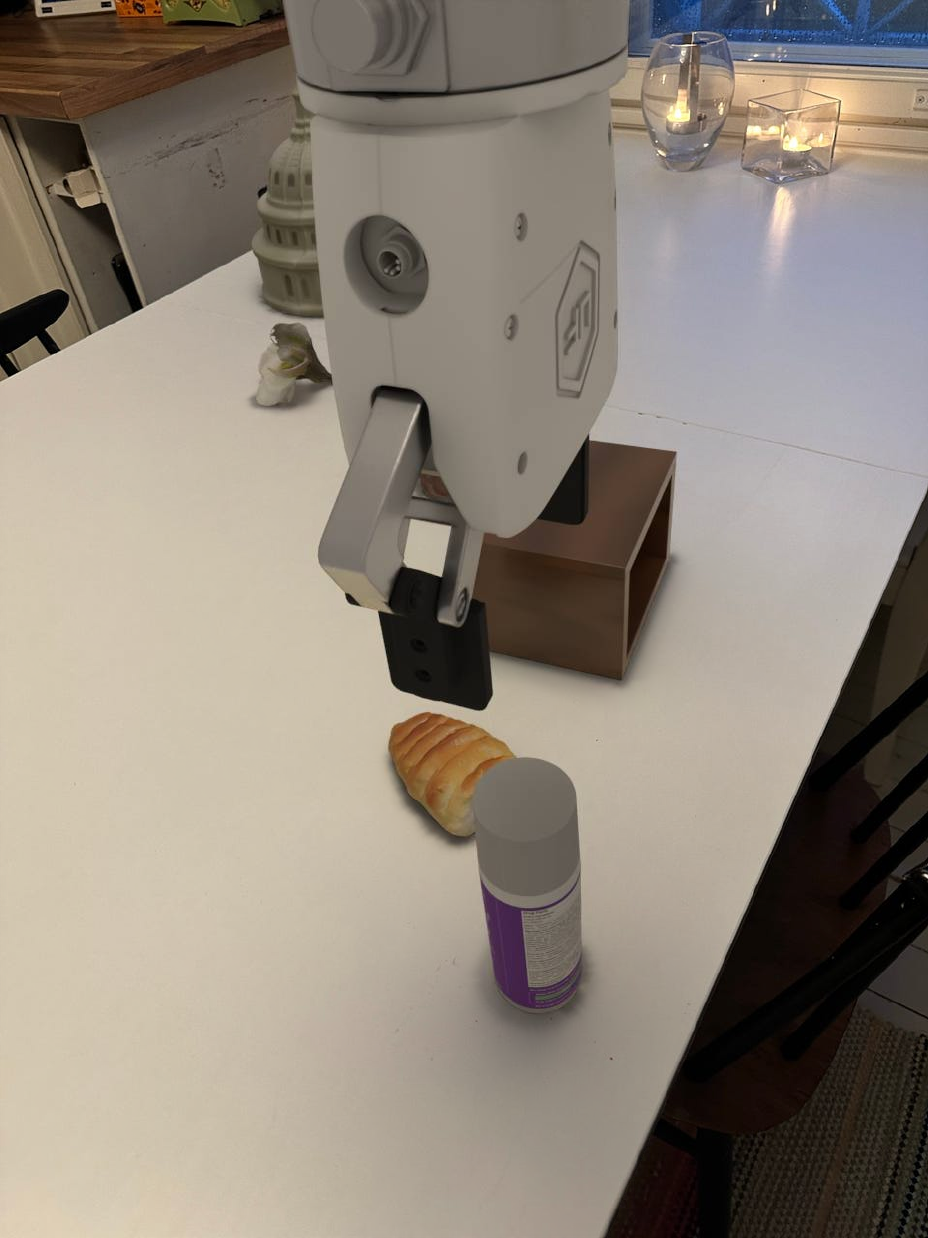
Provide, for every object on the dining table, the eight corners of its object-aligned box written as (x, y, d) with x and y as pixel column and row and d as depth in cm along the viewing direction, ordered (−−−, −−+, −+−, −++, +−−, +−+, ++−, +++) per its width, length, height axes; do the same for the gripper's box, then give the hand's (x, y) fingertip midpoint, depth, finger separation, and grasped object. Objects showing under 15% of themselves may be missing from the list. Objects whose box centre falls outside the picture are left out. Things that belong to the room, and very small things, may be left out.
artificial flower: (455, 419, 96) (426, 344, 88) (262, 432, 103) (220, 364, 95) (469, 359, 100) (443, 282, 92) (284, 375, 107) (245, 306, 99)
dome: (322, 42, 116) (423, 58, 104) (356, 243, 133) (446, 277, 120) (180, 79, 107) (271, 101, 95) (235, 290, 124) (318, 332, 112)
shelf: (669, 559, 74) (677, 451, 67) (621, 680, 64) (625, 568, 58) (538, 536, 77) (533, 432, 71) (475, 648, 68) (463, 539, 61)
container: (480, 951, 50) (452, 778, 40) (556, 917, 51) (548, 740, 41) (517, 1029, 47) (497, 861, 37) (598, 990, 48) (600, 817, 38)
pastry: (365, 766, 61) (356, 727, 58) (442, 710, 64) (436, 671, 61) (461, 852, 55) (455, 813, 53) (540, 786, 58) (538, 747, 56)
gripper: (463, 121, 13) (514, 825, 25) (710, -61, 25) (667, 477, 36) (60, 112, 16) (275, 754, 27) (454, -50, 27) (489, 450, 39)
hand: (499, 596), depth 32 cm, fingers open, 9 cm apart
